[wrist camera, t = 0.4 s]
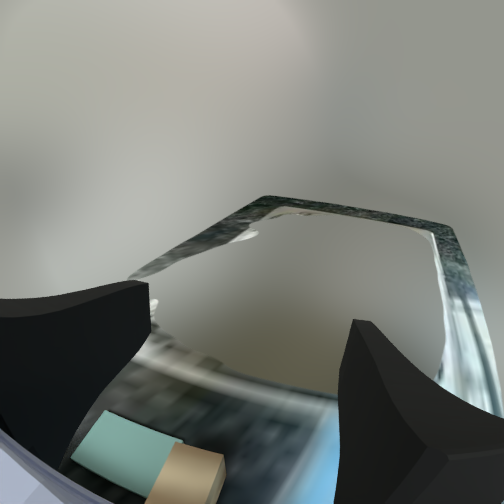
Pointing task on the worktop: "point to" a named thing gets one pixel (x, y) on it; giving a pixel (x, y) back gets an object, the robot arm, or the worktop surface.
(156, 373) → the worktop surface
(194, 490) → the beech bar
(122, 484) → the teal mat
